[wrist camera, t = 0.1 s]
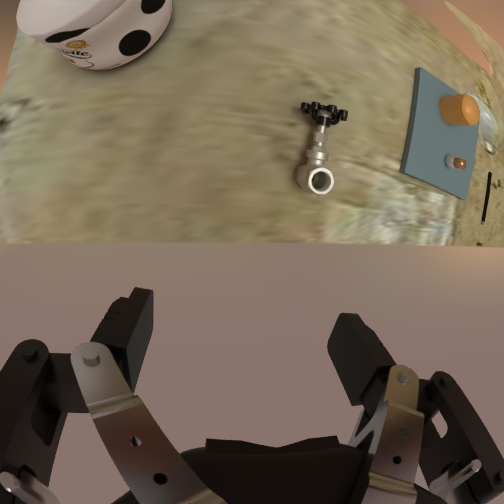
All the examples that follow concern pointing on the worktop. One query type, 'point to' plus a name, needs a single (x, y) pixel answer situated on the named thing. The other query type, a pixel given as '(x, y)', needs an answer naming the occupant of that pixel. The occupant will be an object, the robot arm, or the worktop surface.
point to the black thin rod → (486, 198)
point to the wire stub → (454, 162)
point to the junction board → (437, 139)
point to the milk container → (95, 28)
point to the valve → (319, 149)
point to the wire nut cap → (459, 110)
